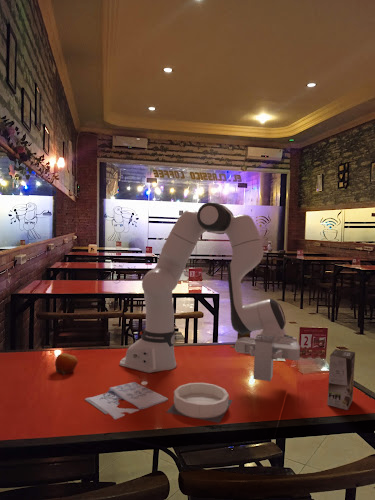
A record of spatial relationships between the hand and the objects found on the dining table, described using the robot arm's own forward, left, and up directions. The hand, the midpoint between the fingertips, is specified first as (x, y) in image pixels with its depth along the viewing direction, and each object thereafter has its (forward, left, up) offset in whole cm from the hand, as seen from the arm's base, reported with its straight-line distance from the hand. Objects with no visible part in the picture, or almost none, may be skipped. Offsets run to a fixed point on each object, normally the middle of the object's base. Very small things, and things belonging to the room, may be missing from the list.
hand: (263, 355), depth 117 cm
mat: (-17, -6, -17) cm, 25 cm away
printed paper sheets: (-40, -12, -17) cm, 45 cm away
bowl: (-17, -6, -16) cm, 25 cm away
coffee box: (+23, +16, -17) cm, 32 cm away
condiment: (-19, +62, -17) cm, 68 cm away
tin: (0, +1, -7) cm, 7 cm away
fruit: (-72, +2, -17) cm, 74 cm away
